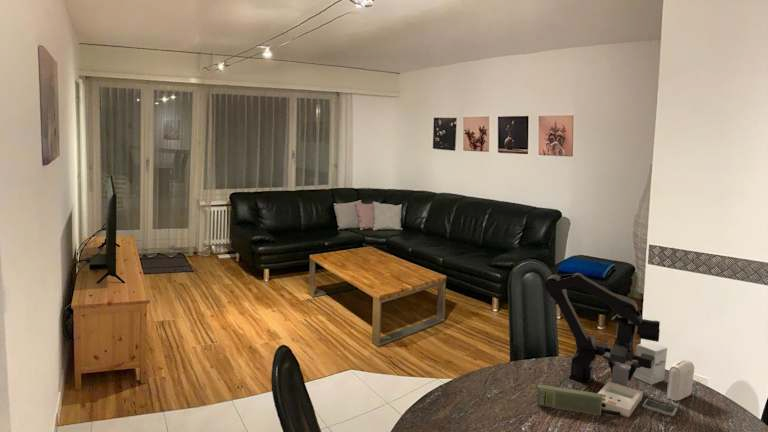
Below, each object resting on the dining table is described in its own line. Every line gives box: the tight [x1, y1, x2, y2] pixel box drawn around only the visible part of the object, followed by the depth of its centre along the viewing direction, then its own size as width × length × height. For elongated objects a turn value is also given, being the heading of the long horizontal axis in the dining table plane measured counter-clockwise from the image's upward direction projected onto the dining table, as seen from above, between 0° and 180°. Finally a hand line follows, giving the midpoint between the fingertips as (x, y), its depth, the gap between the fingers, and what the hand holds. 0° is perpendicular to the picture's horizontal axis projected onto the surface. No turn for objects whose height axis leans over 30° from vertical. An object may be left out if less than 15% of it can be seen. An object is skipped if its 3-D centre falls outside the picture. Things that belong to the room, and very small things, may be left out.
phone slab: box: [642, 398, 678, 418], centre depth 166 cm, size 5×9×1 cm, turn 50°
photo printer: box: [666, 359, 695, 402], centre depth 174 cm, size 10×4×12 cm, turn 123°
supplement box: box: [633, 340, 668, 386], centre depth 186 cm, size 7×7×13 cm
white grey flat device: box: [597, 380, 644, 418], centre depth 170 cm, size 11×16×3 cm
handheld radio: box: [536, 384, 622, 417], centre depth 164 cm, size 7×3×25 cm
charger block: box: [610, 362, 632, 387], centre depth 180 cm, size 5×5×6 cm
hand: (621, 378), depth 180 cm, fingers closed on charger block, 5 cm apart
